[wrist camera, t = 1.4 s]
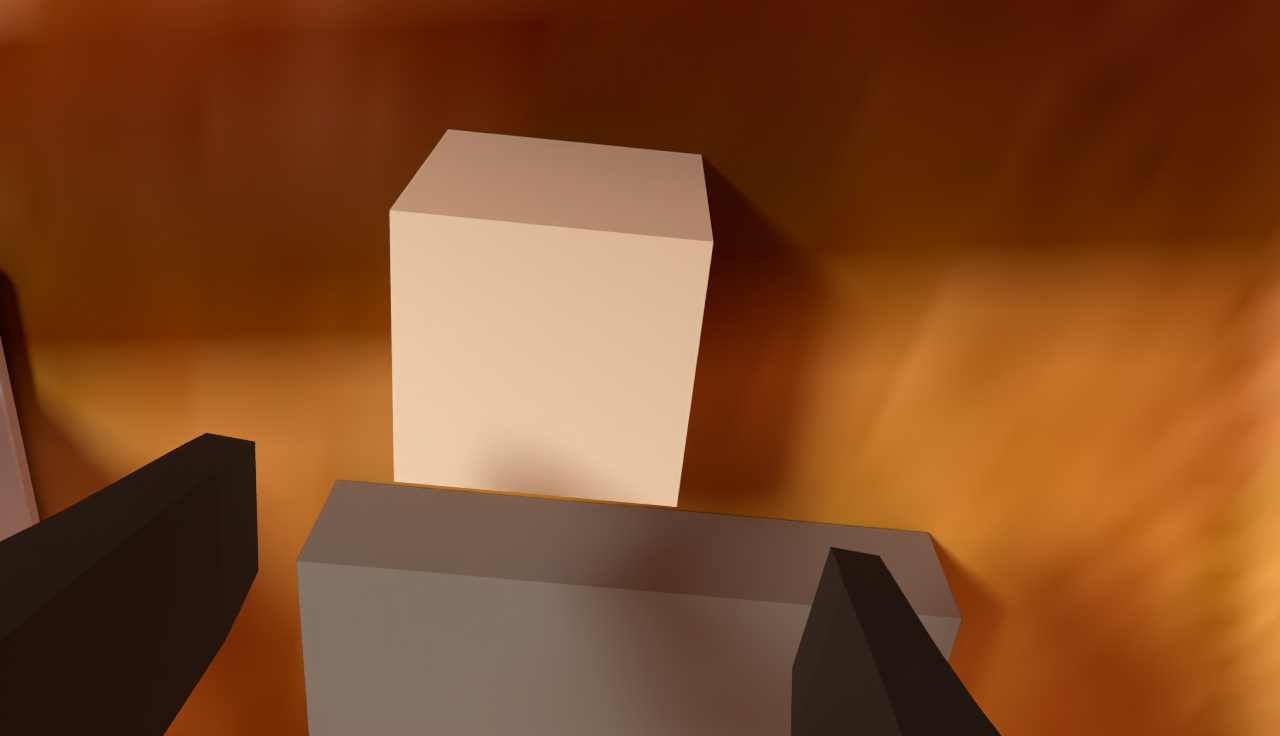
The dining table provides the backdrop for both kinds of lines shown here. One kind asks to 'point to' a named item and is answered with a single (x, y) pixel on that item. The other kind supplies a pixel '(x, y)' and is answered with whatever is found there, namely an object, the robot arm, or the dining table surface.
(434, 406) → the cube
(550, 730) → the plinth
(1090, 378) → the dining table surface
